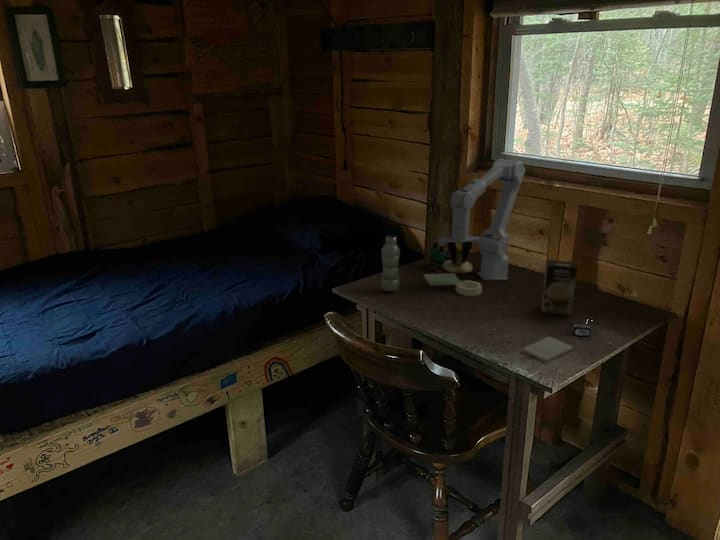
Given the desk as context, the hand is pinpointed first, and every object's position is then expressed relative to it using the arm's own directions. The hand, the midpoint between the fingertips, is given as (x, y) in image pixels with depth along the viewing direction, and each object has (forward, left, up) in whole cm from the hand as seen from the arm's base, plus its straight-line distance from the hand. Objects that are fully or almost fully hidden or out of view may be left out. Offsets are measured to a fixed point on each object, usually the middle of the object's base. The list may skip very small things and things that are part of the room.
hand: (458, 262), depth 199 cm
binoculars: (0, -21, -10) cm, 23 cm away
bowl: (-3, +5, -9) cm, 11 cm away
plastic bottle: (+24, 0, -10) cm, 26 cm away
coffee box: (-27, +23, -10) cm, 37 cm away
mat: (+3, -8, -9) cm, 13 cm away
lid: (0, 0, -2) cm, 2 cm away
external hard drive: (-12, +50, -10) cm, 53 cm away
